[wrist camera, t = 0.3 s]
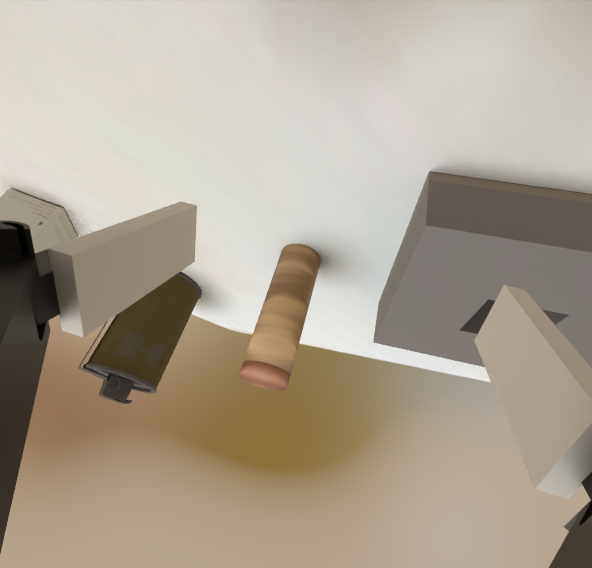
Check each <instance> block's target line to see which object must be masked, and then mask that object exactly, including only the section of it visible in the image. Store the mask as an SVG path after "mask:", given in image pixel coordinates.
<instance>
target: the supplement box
mask: <svg viewBox="0 0 592 568" xmlns="http://www.w3.org/2000/svg"><path fill="white" fill-rule="evenodd" d="M1 220H6V221H17V222H22V223H25V224H27V225H29V226H30V231H31V236H32V241H33V246H34V251H35V253H38V252H41V251H44V250H46V249H48V248H50V247H53V246H56V245H59V244H62V243H65V242H67V241H70V240H73V239H76V238H77V234H76V232H75V230H74V228H73V226H72V224H71V222H70V220H69V218H68V216H67V214H66V212H65V210H64V209H63V208H62V207H58V206H55V205H52V204H50V203H47V202H44V201H41V200H39V199H36V198H34V197H31V196H28V195H26V194H23V193H21V192H18V191H16V190H14V189H9V190H8V191H7V192H6V193H5V194H4V195H3V196H2V197H0V221H1Z"/></svg>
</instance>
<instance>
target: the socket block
mask: <svg viewBox="0 0 592 568" xmlns="http://www.w3.org/2000/svg"><path fill="white" fill-rule="evenodd" d="M504 285H508V286H512V287H516V288H520V289H524V290H525V291H526V292H527V293H528V294H529V295H530V296H531V298H532V299H533V300H534V301H535V302H536V303H537V305H538V306H539V307H540V308H541V309H542V310H543V312H544V313H545V314H546V315H547V316H548V317H549V319H550V320H551V321H552V322H553V323H554V324H555V326H556V327H557V328H558V329H559V330H560V332H561V333H562V334H563V335H564V336H565V337H566V339H567V340H568V341H569V342H570V343H571V344H572V346H573V347H574V348H575V349H576V350H577V351H578V353H579V354H580V355H581V356H582V357H583V358H584V360H585V361H586V362H587V363H588V364H589V365H590V366H591V367H592V195H591V194H584V193H577V192H570V191H563V190H556V189H548V188H541V187H534V186H527V185H520V184H513V183H506V182H498V181H491V180H484V179H477V178H470V177H463V176H456V175H449V174H441V173H434V172H429V173H428V176H427V179H426V181H425V184H424V187H423V189H422V192H421V194H420V197H419V200H418V202H417V205H416V207H415V210H414V213H413V215H412V218H411V220H410V223H409V226H408V228H407V231H406V233H405V236H404V239H403V241H402V244H401V246H400V249H399V252H398V254H397V257H396V259H395V262H394V265H393V267H392V270H391V272H390V275H389V278H388V280H387V283H386V285H385V288H384V291H383V293H382V296H381V298H380V301H379V305H378V312H377V320H376V327H375V334H374V341H373V342H374V343H379V344H383V345H388V346H392V347H397V348H401V349H406V350H410V351H415V352H419V353H424V354H428V355H433V356H437V357H442V358H446V359H451V360H455V361H460V362H464V363H469V364H473V365H478V366H483V367H485V366H484V363H483V361H482V358H481V356H480V353H479V351H478V349H477V346H476V344H475V341H474V340H475V338H476V337H477V335H478V333H479V331H480V329H481V327H482V325H483V323H484V322H485V320H486V318H487V316H488V314H489V312H490V310H491V308H492V307H493V305H494V303H495V301H496V299H497V297H498V295H499V293H500V292H501V290H502V288H503V286H504Z"/></svg>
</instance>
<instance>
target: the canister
mask: <svg viewBox="0 0 592 568" xmlns="http://www.w3.org/2000/svg"><path fill="white" fill-rule="evenodd" d="M200 297H201V290H200V288H199V287H198V285H197V284H196V283H195V282H194V281H192V280H191V279H190V278H189V277H187V276H186V275H184V274H182V273H181V272H179V273H177V274H176V275H174V276H173V277H171V278H170V279H168V280H167V281H165V282H164V283H163V284H161V285H160V286H158V287H157V288H155V289H154V290H152V291H151V292H149V293H148V294H147V295H145V296H144V297H142V298H141V299H139V300H138V301H136V302H135V303H133V304H132V305H130V306H129V307H128V308H126V309H125V310H123V311H122V312H120V313H119V314H117V315H116V316H115V318H114V320H113V321H112V323H111V325H110V326H109V328H108V330H107V331H106V333H105V335H104V336H103V338H102V340H101V341H100V343H99V344H98V346H97V348H96V349H95V351H94V353H93V354H92V356H91V357H90V360H89V361H88V362H87V364H85V365H84V366H83V368H81V364H82V362H83V361H84V359H85V358H86V356H87V354H88V353H89V351H90V349H91V348H92V346H93V344H94V343H95V341H96V340H97V338H98V336H99V335H100V333H101V331H102V330H101V331H100V333H99V335H98V336H97V338H96V340H95V341H94V343H93V344H92V346H91V347H90V349H89V351H88V352H87V354H86V356H85V357H84V359H83V361H82V362H81V364H80V365H79V369H81V370H84V371H86V372H88V373H91V374H93V375H95V376H97V377H99V378H102V379H104V381H103V384H102V387H101V390H100V393H99V396H100V397H103V398H106V399H109V400H112V401H115V402H118V403H121V404H129V403H131V402H132V401H131V400H130V401H128V400H126V399H127V397H128V395H129V393H130V391H131V389H133V390H136V391H140V392H145V393H156V388H157V386H158V383H159V381H160V379H161V377H162V375H163V373H164V371H165V369H166V366H167V364H168V362H169V360H170V358H171V356H172V354H173V351H174V349H175V347H176V345H177V343H178V341H179V338H180V336H181V334H182V332H183V330H184V328H185V326H186V323H187V322H188V319H189V317H190V315H191V313H192V311H193V309H194V307H195V304H196V302H197V300H198V299H199V298H200ZM106 323H107V322H106ZM106 323H105V325H106ZM105 325H104V326H105ZM103 328H104V327H103ZM103 328H102V329H103ZM122 402H123V403H122Z"/></svg>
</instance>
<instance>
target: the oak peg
mask: <svg viewBox="0 0 592 568" xmlns="http://www.w3.org/2000/svg"><path fill="white" fill-rule="evenodd" d="M319 265H320V257H319V255H318V254H317V253H316V252H315V251H314V250H313V249H311V248H309V247H307V246H304V245H299V244H291V245H288V246H286V247H284V248H283V250H282V252H281V255H280V258H279V261H278V264H277V267H276V269H275V272H274V275H273V278H272V281H271V284H270V287H269V290H268V292H267V295H266V298H265V301H264V304H263V307H262V310H261V313H260V315H259V318H258V321H257V324H256V327H255V330H254V333H253V336H252V339H251V341H250V345H249V347H248V350H247V353H246V356H245V359H244V362H243V364H242V367H241V370H240V373H239V376H240V377H241V378H242V379H243V380H245V381H247V382H249V383H251V384H253V385H256V386H259V387H262V388H265V389H270V390H276V391H284V390H286V389H287V386H288V382H289V379H290V375H291V371H292V367H293V364H294V360H295V356H296V352H297V349H298V344H299V341H300V337H301V333H302V330H303V326H304V322H305V318H306V314H307V311H308V307H309V303H310V299H311V295H312V292H313V288H314V284H315V280H316V277H317V273H318V269H319Z"/></svg>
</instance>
